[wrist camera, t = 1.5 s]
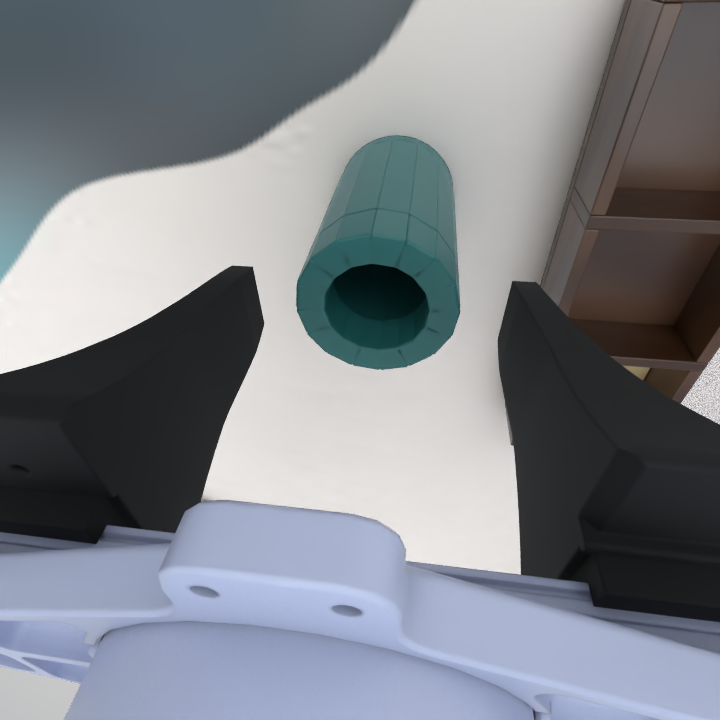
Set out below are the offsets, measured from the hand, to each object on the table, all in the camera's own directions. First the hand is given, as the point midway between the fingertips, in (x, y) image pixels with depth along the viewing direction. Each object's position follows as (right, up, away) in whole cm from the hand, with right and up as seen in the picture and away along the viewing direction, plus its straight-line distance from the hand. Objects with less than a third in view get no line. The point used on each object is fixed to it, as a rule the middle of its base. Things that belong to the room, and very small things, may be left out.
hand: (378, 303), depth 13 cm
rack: (+11, +3, +6) cm, 13 cm away
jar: (+1, +5, +6) cm, 8 cm away
